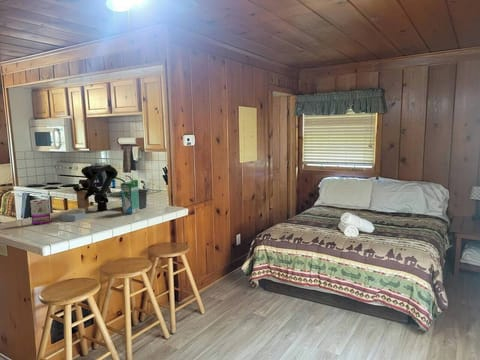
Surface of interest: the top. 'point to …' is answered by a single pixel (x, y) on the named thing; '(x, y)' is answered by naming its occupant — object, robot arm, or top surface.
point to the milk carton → (130, 197)
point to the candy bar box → (40, 211)
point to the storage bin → (142, 198)
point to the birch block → (83, 210)
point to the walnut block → (82, 199)
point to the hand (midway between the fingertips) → (81, 199)
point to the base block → (73, 216)
